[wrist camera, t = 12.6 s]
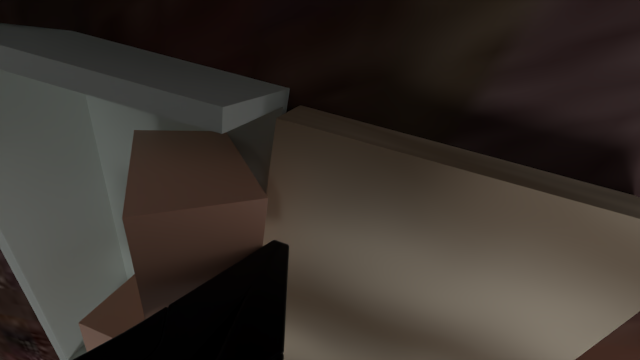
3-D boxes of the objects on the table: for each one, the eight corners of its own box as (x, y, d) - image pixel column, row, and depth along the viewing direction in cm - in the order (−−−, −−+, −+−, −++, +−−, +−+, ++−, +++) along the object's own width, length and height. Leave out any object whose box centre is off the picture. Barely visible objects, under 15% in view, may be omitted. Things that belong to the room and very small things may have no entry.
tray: (252, 340, 17) (213, 424, 13) (131, 295, 18) (61, 361, 14) (289, 88, 9) (222, 107, 5) (72, 30, 10) (-129, 9, 6)
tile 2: (154, 409, 11) (96, 383, 11) (218, 311, 15) (175, 293, 16) (152, 355, 9) (77, 323, 9) (227, 257, 13) (177, 236, 13)
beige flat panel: (433, 402, 16) (442, 458, 13) (259, 338, 17) (241, 380, 15) (635, 195, 8) (729, 243, 6) (300, 105, 9) (276, 117, 7)
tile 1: (254, 314, 9) (152, 354, 7) (224, 226, 12) (151, 239, 11) (268, 197, 6) (121, 217, 5) (225, 131, 10) (134, 129, 8)
